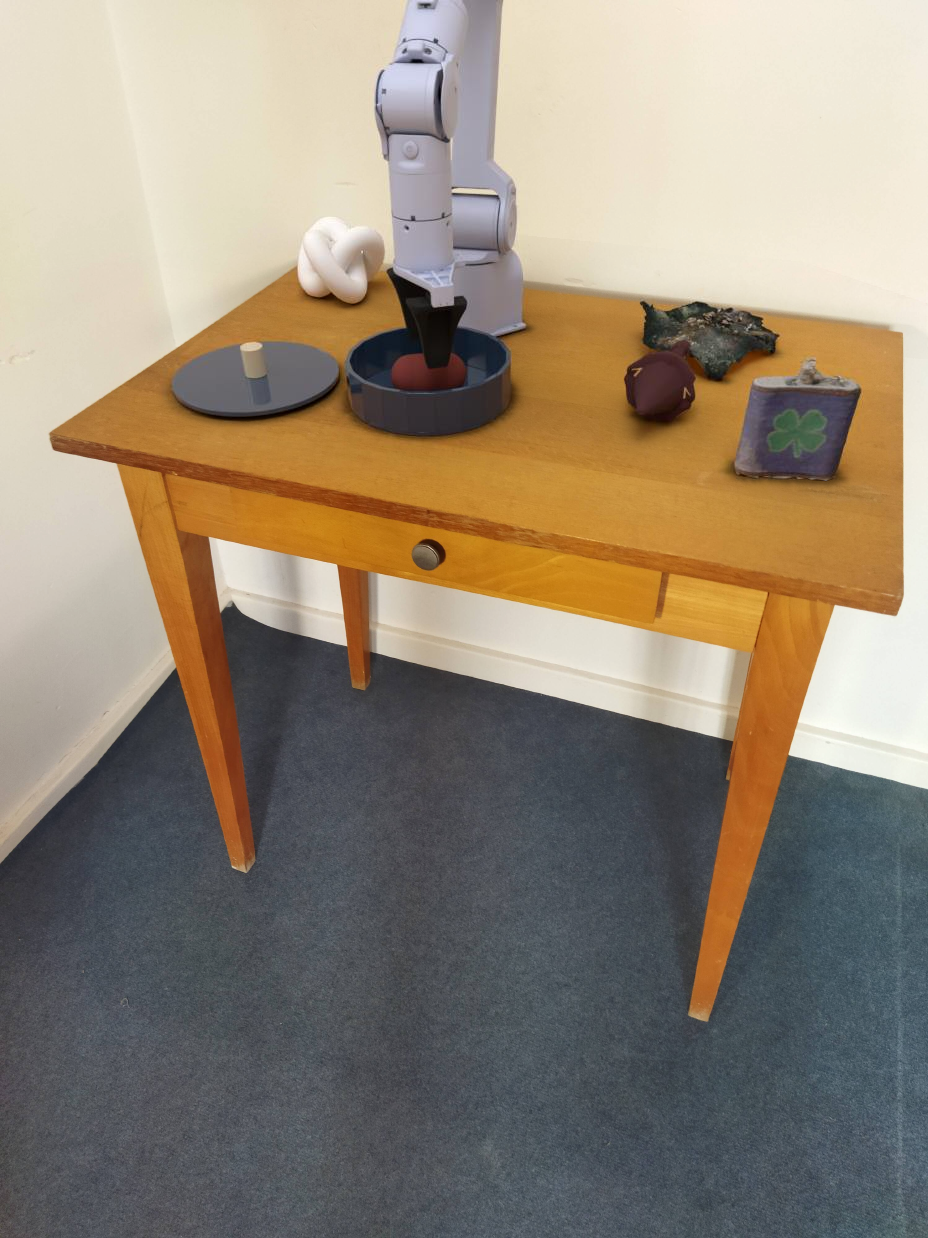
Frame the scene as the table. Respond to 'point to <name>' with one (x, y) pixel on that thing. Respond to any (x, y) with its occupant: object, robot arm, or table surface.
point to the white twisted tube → (339, 259)
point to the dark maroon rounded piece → (661, 383)
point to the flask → (796, 425)
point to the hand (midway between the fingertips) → (428, 351)
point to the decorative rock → (708, 334)
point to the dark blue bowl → (428, 409)
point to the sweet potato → (427, 374)
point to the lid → (255, 378)
